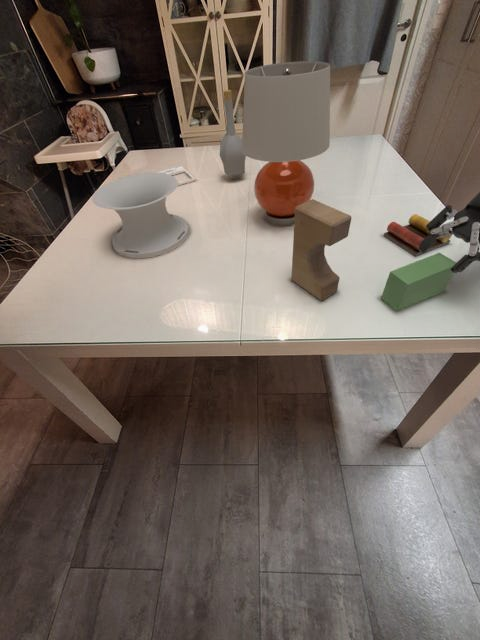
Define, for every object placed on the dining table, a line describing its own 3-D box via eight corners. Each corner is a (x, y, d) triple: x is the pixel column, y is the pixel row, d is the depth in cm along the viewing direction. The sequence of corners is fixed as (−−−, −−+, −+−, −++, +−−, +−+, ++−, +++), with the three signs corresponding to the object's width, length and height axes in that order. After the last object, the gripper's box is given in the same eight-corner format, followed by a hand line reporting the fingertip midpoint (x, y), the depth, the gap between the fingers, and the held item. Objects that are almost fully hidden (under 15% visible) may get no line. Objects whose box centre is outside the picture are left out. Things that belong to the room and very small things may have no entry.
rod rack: (449, 243, 82) (455, 230, 80) (415, 256, 80) (420, 243, 77) (415, 224, 90) (419, 212, 87) (383, 236, 88) (387, 223, 85)
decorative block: (337, 292, 73) (353, 215, 58) (320, 302, 71) (332, 225, 56) (306, 271, 80) (313, 197, 65) (290, 279, 78) (293, 206, 63)
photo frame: (181, 165, 138) (194, 177, 127) (181, 168, 139) (195, 180, 128) (151, 173, 135) (162, 186, 123) (151, 176, 136) (162, 189, 124)
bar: (443, 291, 70) (458, 263, 64) (396, 311, 67) (407, 284, 61) (426, 279, 73) (439, 252, 67) (380, 298, 70) (390, 271, 64)
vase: (121, 222, 107) (103, 177, 96) (189, 213, 107) (179, 168, 96) (106, 262, 90) (81, 214, 79) (187, 252, 90) (175, 203, 79)
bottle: (235, 171, 131) (227, 86, 109) (254, 177, 125) (249, 88, 103) (216, 180, 126) (204, 93, 104) (235, 186, 120) (226, 95, 98)
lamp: (286, 193, 112) (290, 58, 84) (336, 216, 98) (362, 61, 69) (232, 216, 103) (217, 73, 75) (279, 245, 89) (282, 81, 61)
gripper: (467, 173, 61) (405, 238, 67) (541, 199, 51) (461, 272, 57) (474, 192, 66) (415, 251, 72) (542, 219, 56) (468, 285, 62)
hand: (436, 260), depth 64 cm, fingers open, 8 cm apart
